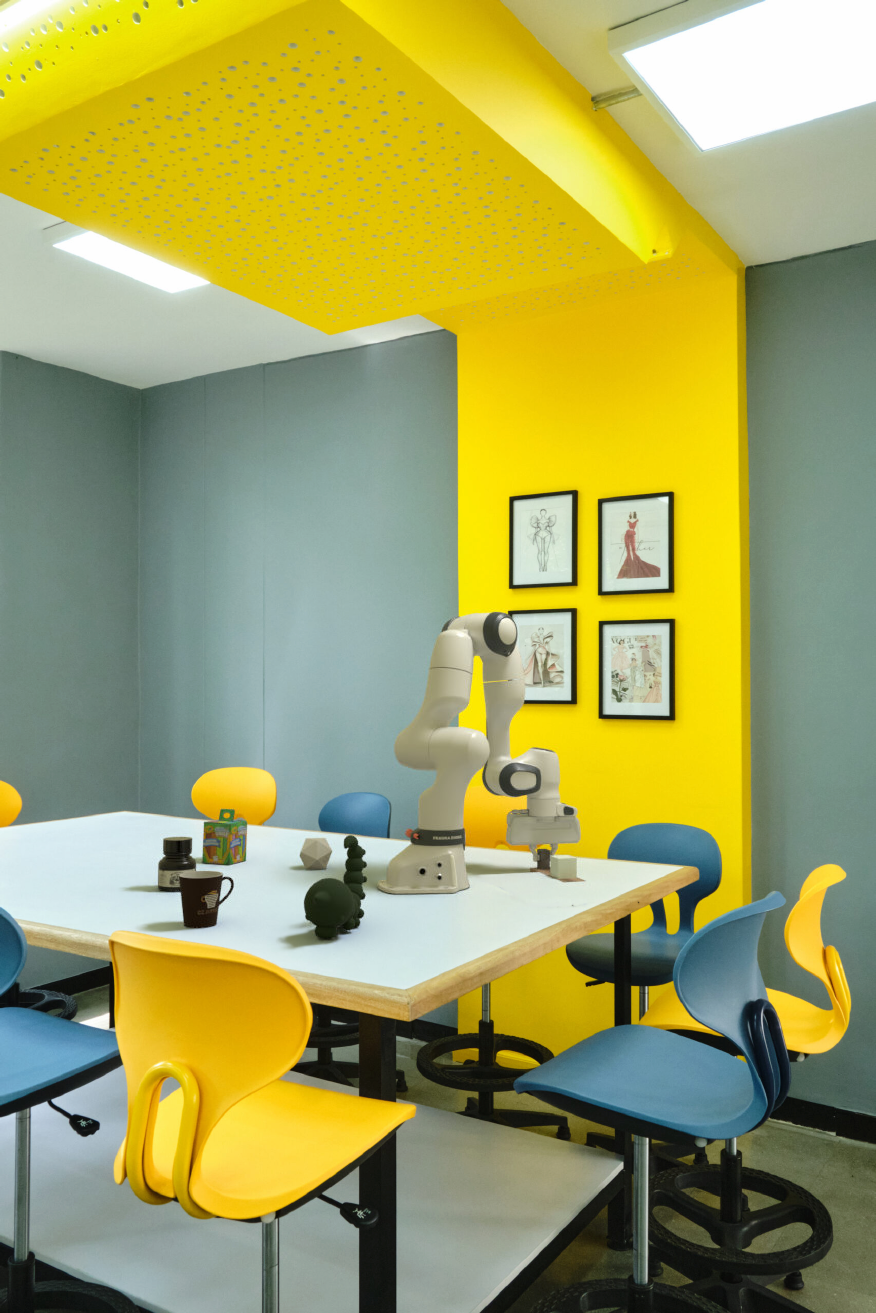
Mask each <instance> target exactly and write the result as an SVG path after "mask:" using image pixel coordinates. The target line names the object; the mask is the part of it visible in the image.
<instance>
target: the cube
mask: <svg viewBox="0 0 876 1313" xmlns="http://www.w3.org/2000/svg"><path fill="white" fill-rule="evenodd" d="M577 859H578V858H577V857H575V856H572V855H570V854H561V855H560V854H559V855H554V856H550V876H553V877H555V878H557V879H567V878H578V877H577V867H578V866H577V865H578V864H577V863H578V862H577ZM550 876H549V877H550ZM555 878H554V879H555ZM557 879H556V880H557Z"/></svg>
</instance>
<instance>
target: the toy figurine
mask: <svg viewBox="0 0 876 1313" xmlns="http://www.w3.org/2000/svg"><path fill="white" fill-rule="evenodd" d="M343 849H345V850H347V851H346V856H347V858H346V860H345V862H344V866H345V870H346V871H345V872H344V874H343V877H342V881H341V880H339V879H337V878H335V877H334V878H332V877H325V878H322V879H319V880H317V881H316V882H314V883H313V884H311V886H310V887H309V889H308V890H307V892H306V893H305V896H304V900H303V908H304V914H305V915H304V918H305V920H306V921H309V922H310V923H311V924H313V925H314V926H315V927H314V931H313V932H314V935H315V936H316V937H317V938H319V939H321V940H333V939H334V938H335V937H336V935H337V933H338V929H337V928H340V927H342V929H344V930H345V931H346V932H349V931H352V930H353V929H354V928H356V929H357V928H358V927H360V926H361V919H362V918H364V916H365V910H364V909H363V908H362V901H363V900H365V898H366V895H367V894H366V893H365V892H364V888H363V886H362V885H363V884H366V882H368V877H367V876H366V875H364V873H363V872H362V871H363V870H364V869H366V868H367V866H368V864H367V862H366V861H365V860H364V859H363V858H364V856H365V855H366V854H367V850H365V849H364V848H363V847H362V846H361V845H359V840H358V839H357V837H356V836H354V835H351V834H350V835H346V837H345V838H344V839H343Z"/></svg>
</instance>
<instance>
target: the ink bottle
mask: <svg viewBox="0 0 876 1313" xmlns="http://www.w3.org/2000/svg"><path fill="white" fill-rule="evenodd" d="M192 853H193V837H189V836H170V837H168V836H167V837H163V840H162V855H164V856H163V857H162V858H161V859H160V860H159V861H158V866H157V868H158V869H157V889H158V890H160V891H162V892H181V891H180V880H179V875H180V874H182V873H186V872H193V871H197V861H196V859H195V858H193V855H191V854H192Z"/></svg>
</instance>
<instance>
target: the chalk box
mask: <svg viewBox="0 0 876 1313" xmlns="http://www.w3.org/2000/svg"><path fill="white" fill-rule="evenodd" d="M235 813H236V810H235V809H234V808H221V809H220V811H219V815H218V816H219V817H218V819H213V820H209V821H204V822H203V833H202V834H203V836H202V838H203V839H202V840H203V841H202V856H201V857H202V858H201V863H202V864H213V865H221V866H222V865H223V866H231V865H235V864H237V863H241V862H246V861H247V841H248V821H247V820H241V819H235ZM225 814H229V817H224V815H225Z"/></svg>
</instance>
